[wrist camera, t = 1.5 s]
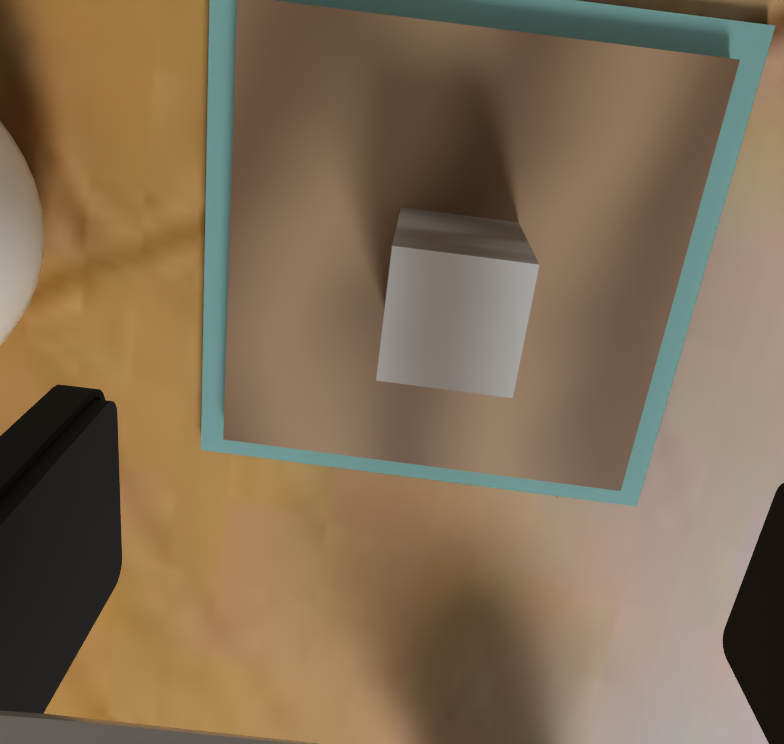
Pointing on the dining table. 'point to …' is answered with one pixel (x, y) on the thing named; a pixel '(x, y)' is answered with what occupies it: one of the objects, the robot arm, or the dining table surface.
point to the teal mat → (516, 13)
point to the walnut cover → (456, 238)
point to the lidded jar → (17, 234)
